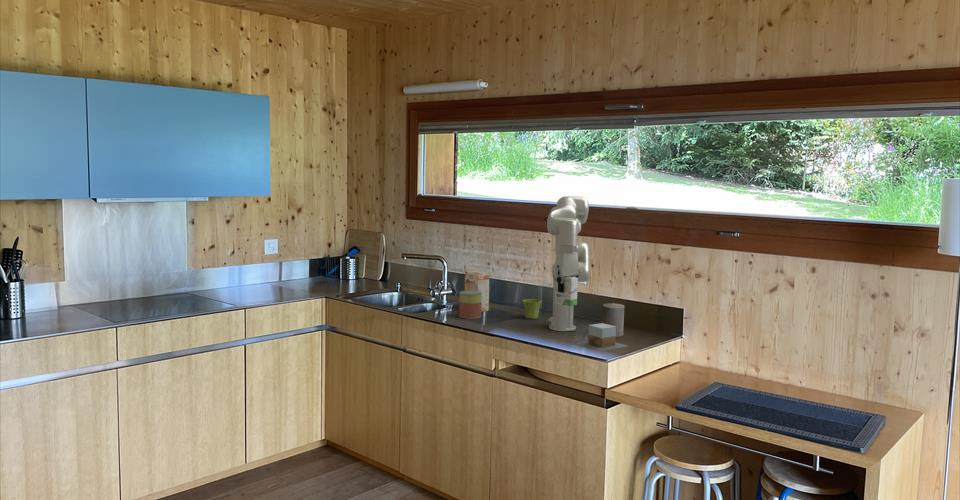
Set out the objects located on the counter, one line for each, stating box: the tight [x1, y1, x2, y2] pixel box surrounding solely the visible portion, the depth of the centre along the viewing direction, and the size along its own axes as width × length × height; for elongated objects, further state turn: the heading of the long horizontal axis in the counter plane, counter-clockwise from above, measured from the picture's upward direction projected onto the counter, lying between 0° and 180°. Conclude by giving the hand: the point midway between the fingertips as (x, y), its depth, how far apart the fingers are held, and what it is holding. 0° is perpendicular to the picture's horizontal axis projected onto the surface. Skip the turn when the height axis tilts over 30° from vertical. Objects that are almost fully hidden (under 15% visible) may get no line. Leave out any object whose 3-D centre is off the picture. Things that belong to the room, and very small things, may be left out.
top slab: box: [588, 322, 616, 338], centre depth 304 cm, size 8×8×4 cm
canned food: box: [458, 290, 482, 320], centre depth 360 cm, size 11×11×12 cm
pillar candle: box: [601, 302, 625, 338], centre depth 323 cm, size 10×10×15 cm
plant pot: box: [522, 298, 542, 320], centre depth 360 cm, size 9×9×9 cm
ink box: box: [555, 276, 579, 307], centre depth 305 cm, size 8×5×12 cm, turn 46°
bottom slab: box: [587, 334, 617, 348], centre depth 305 cm, size 8×8×4 cm
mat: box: [575, 340, 628, 352], centre depth 305 cm, size 16×16×1 cm
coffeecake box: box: [464, 269, 490, 313], centre depth 380 cm, size 15×7×20 cm, turn 28°
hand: (566, 291), depth 306 cm, fingers closed on ink box, 5 cm apart
